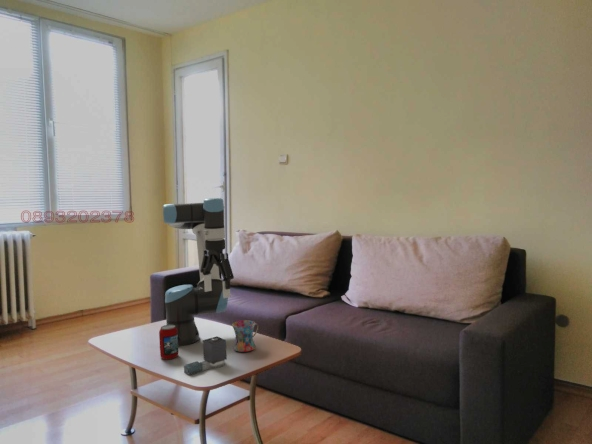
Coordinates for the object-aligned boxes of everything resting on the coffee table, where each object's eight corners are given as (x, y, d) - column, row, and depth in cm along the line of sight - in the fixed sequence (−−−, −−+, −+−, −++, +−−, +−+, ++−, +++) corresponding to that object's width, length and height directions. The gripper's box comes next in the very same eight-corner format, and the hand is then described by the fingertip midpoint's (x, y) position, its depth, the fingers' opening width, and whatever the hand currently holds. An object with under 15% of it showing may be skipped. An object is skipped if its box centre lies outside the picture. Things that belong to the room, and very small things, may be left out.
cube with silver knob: (212, 363, 159) (211, 342, 159) (203, 359, 164) (202, 339, 163) (226, 359, 163) (225, 338, 163) (217, 355, 168) (216, 335, 167)
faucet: (182, 371, 158) (181, 351, 158) (218, 359, 169) (217, 340, 168) (191, 376, 153) (190, 356, 153) (228, 364, 163) (227, 345, 163)
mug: (242, 355, 172) (241, 328, 172) (228, 350, 179) (227, 324, 178) (266, 347, 181) (265, 321, 180) (251, 342, 187) (250, 317, 187)
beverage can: (168, 361, 168) (167, 330, 168) (156, 358, 172) (155, 327, 171) (182, 355, 174) (180, 325, 173) (170, 353, 178) (168, 323, 177)
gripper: (190, 237, 176) (192, 290, 178) (224, 243, 158) (226, 302, 160) (207, 235, 181) (209, 287, 183) (242, 241, 162) (243, 298, 164)
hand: (217, 294), depth 171 cm, fingers open, 13 cm apart
